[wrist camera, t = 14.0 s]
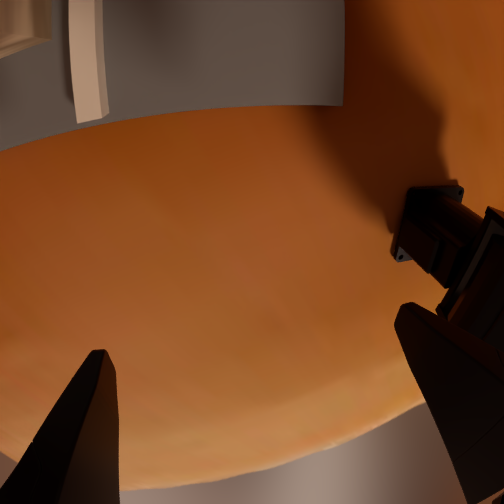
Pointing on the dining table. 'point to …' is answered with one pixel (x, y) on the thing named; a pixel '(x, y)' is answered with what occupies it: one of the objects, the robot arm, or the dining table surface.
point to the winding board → (170, 62)
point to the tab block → (24, 24)
